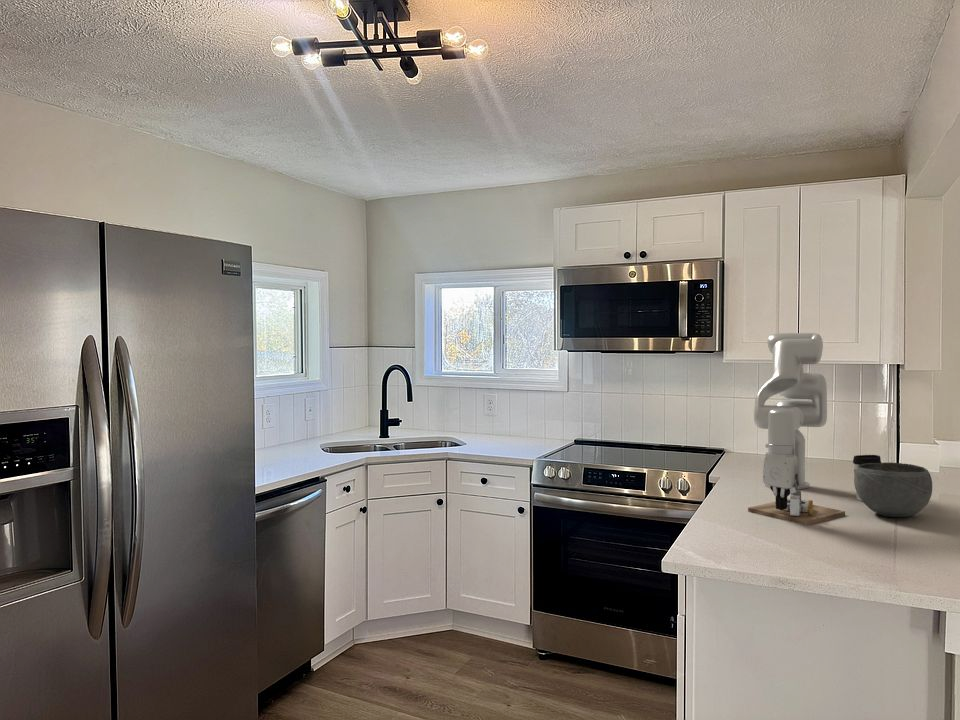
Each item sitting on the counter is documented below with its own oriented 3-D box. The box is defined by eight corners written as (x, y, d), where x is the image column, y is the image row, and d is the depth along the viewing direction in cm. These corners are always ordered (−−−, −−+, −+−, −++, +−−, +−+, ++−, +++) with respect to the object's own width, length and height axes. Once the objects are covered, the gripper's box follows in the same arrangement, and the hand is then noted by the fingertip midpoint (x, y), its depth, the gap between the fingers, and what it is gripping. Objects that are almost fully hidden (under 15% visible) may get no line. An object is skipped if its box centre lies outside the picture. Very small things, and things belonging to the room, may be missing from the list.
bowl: (922, 509, 224) (922, 462, 223) (941, 526, 204) (942, 474, 204) (848, 504, 231) (849, 459, 230) (860, 521, 211) (860, 471, 210)
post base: (747, 511, 224) (747, 488, 223) (786, 502, 234) (786, 481, 234) (806, 525, 207) (806, 500, 207) (845, 515, 218) (845, 492, 217)
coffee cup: (885, 503, 232) (885, 458, 232) (857, 502, 234) (857, 457, 233) (876, 497, 240) (876, 453, 240) (849, 496, 242) (849, 453, 242)
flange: (778, 514, 214) (778, 497, 214) (780, 503, 227) (780, 488, 227) (811, 517, 210) (811, 500, 210) (812, 506, 223) (812, 490, 223)
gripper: (752, 447, 221) (752, 505, 222) (795, 454, 208) (795, 516, 209) (768, 445, 225) (768, 502, 226) (811, 451, 212) (811, 512, 213)
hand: (781, 508), depth 217 cm, fingers closed
